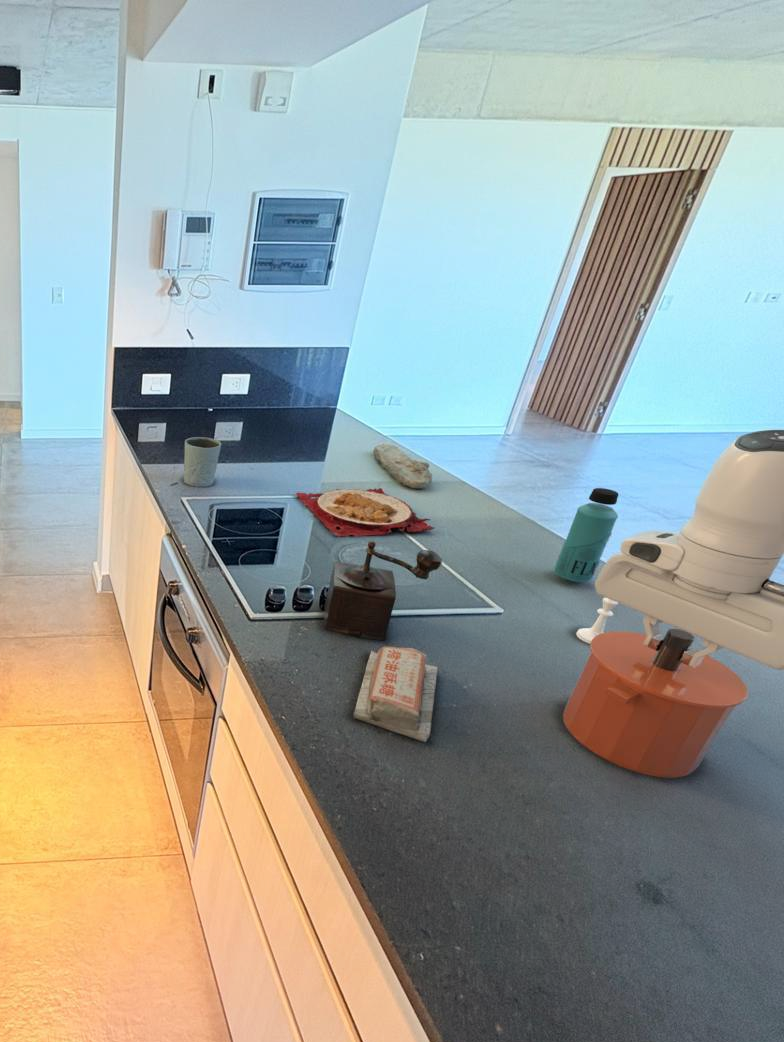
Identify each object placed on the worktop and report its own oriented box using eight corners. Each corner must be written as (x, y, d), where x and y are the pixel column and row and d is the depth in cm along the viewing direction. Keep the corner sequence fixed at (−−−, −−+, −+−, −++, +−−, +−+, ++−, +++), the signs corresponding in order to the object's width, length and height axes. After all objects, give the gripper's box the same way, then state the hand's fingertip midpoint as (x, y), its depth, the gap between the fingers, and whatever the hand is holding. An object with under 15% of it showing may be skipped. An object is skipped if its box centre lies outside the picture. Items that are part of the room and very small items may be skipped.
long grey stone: (396, 456, 201) (364, 456, 202) (399, 440, 199) (366, 441, 200) (440, 490, 169) (401, 491, 171) (444, 472, 167) (404, 472, 169)
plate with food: (379, 494, 169) (382, 483, 168) (433, 533, 146) (437, 519, 145) (294, 498, 169) (296, 486, 167) (334, 537, 146) (337, 523, 144)
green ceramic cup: (181, 474, 184) (184, 436, 179) (215, 476, 183) (219, 437, 178) (182, 487, 175) (185, 447, 170) (218, 488, 174) (222, 448, 169)
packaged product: (436, 719, 84) (358, 694, 89) (427, 745, 87) (352, 720, 91) (443, 650, 98) (375, 632, 103) (435, 674, 100) (369, 655, 105)
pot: (728, 750, 85) (774, 679, 79) (646, 800, 78) (690, 726, 72) (608, 687, 97) (641, 621, 91) (528, 726, 90) (558, 657, 84)
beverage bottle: (560, 587, 124) (598, 496, 115) (543, 571, 130) (577, 483, 121) (597, 590, 123) (637, 498, 114) (577, 574, 129) (614, 485, 120)
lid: (768, 690, 79) (793, 651, 76) (703, 727, 73) (728, 687, 70) (627, 627, 91) (644, 592, 89) (562, 654, 86) (578, 617, 83)
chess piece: (607, 651, 105) (630, 601, 101) (572, 638, 109) (593, 590, 104) (613, 639, 108) (636, 591, 104) (579, 627, 112) (600, 580, 107)
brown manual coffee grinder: (322, 632, 111) (341, 543, 103) (324, 601, 121) (341, 518, 112) (418, 651, 106) (446, 559, 98) (412, 617, 115) (437, 531, 107)
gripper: (855, 598, 67) (790, 696, 74) (636, 526, 84) (598, 611, 90) (828, 611, 65) (763, 712, 71) (609, 535, 82) (572, 621, 88)
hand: (669, 655), depth 81 cm, fingers closed on lid, 2 cm apart
